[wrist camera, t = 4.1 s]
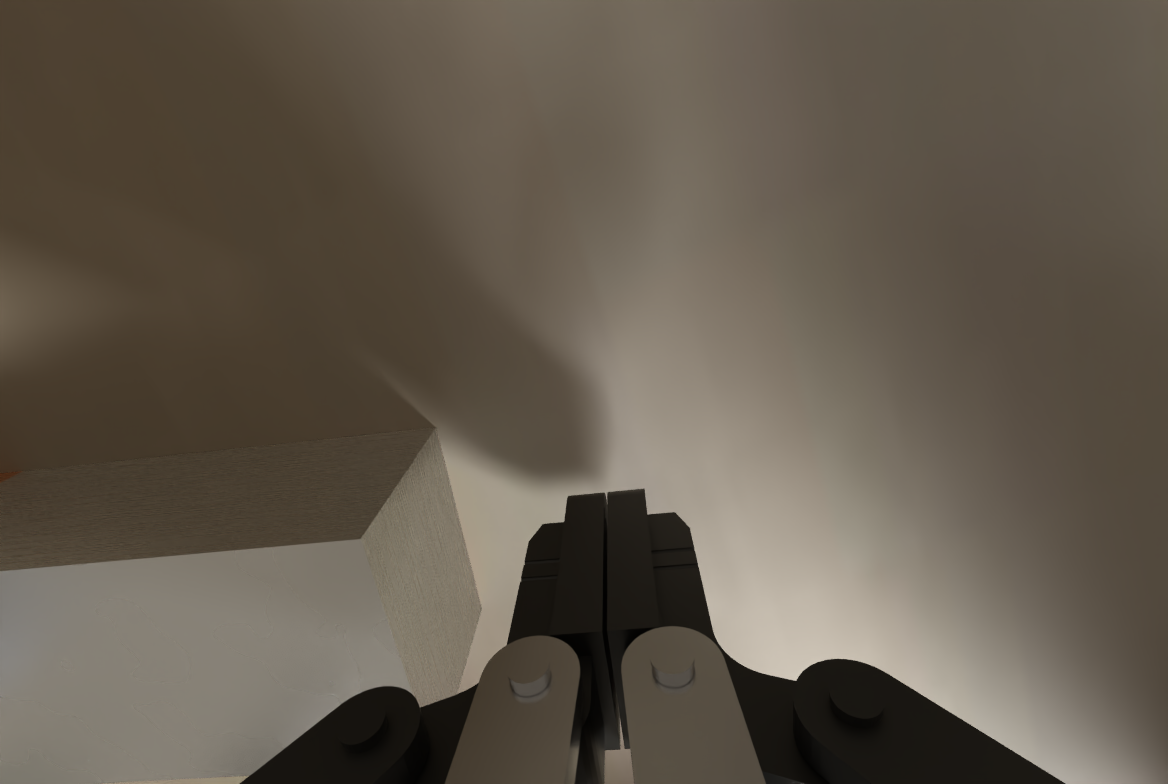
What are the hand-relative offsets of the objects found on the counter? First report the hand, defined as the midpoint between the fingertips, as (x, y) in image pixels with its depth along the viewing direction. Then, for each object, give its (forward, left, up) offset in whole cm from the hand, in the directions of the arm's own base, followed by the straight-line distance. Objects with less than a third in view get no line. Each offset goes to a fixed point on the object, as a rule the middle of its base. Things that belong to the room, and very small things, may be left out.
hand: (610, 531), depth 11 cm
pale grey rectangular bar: (+11, +1, -2) cm, 11 cm away
